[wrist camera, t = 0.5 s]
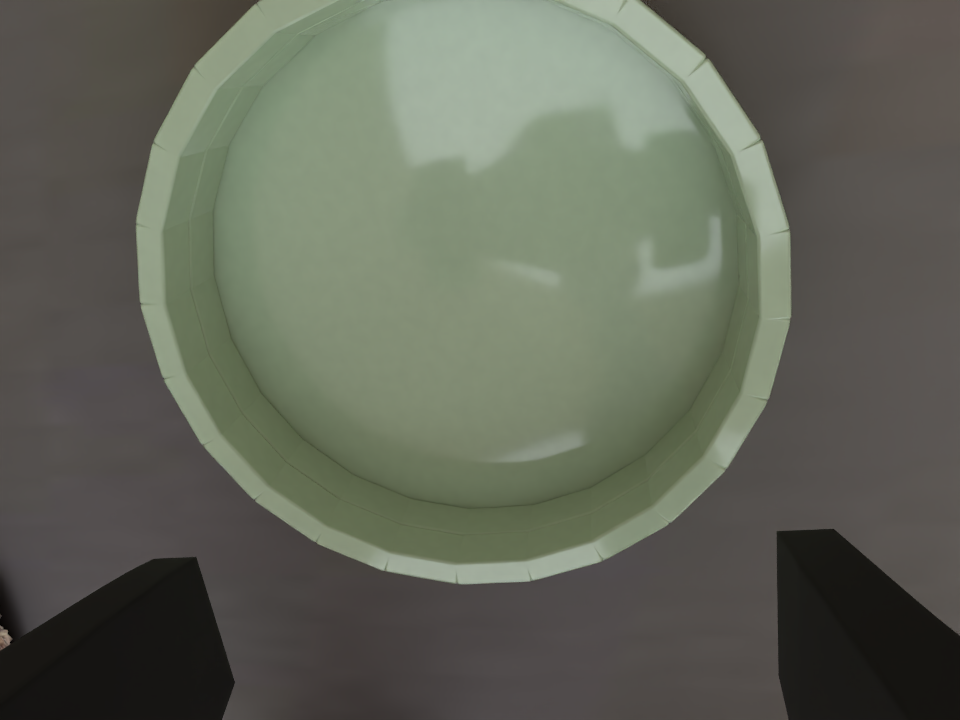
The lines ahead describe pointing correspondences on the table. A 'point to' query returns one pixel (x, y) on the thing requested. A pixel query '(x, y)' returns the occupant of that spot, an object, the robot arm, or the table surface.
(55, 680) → the robot arm
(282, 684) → the table surface
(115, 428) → the table surface
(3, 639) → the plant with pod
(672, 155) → the bowl
